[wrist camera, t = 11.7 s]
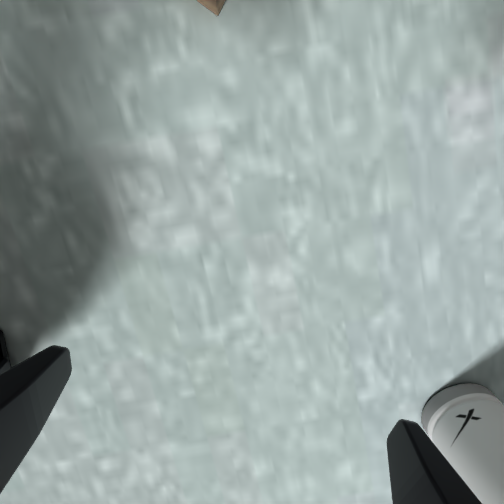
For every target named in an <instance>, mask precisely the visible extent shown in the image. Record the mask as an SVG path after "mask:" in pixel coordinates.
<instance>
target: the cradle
mask: <svg viewBox="0 0 504 504" xmlns="http://www.w3.org/2000/svg"><path fill="white" fill-rule="evenodd" d="M197 1H198V2H200V3H201V4H202V5H204V6H205V7H206V8H208V9H209V10H210V11H212V12H213V13H214V14H216V15H217V16H218V15H219V13H220V11H221V9H222V6H223V4H224V2H225V0H197Z"/></svg>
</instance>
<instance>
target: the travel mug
mask: <svg viewBox="0 0 504 504" xmlns="http://www.w3.org/2000/svg"><path fill="white" fill-rule="evenodd" d="M421 423H422V425H423V428H424V429H425V431H426V433H427V434H428V436H429V437H430V439H431V441H432V442H433V443H434V444H435V446H436V447H437V448H438V449H439V451H440V452H441V453H442V454H443V456H444V457H445V458H446V459H447V461H448V462H449V463H450V464H451V466H452V467H453V468H454V469H455V471H456V472H457V473H458V474H459V475H460V477H461V478H462V479H463V480H464V482H465V483H466V484H467V485H468V487H469V488H470V489H471V490H472V492H473V493H474V494H475V495H476V497H477V498H478V499H479V500H480V502H481V503H482V504H504V405H503V404H502V403H501V402H500V400H499V399H498V398H497V397H496V396H495V395H494V394H493V393H492V392H491V391H490V390H489V389H488V388H486V387H484V386H482V385H478V384H471V383H466V384H459V385H454V386H451V387H448V388H446V389H444V390H442V391H440V392H439V393H437V394H436V395H435V396H433V397H432V398H431V399H430V400H429V401H428V403H427V404H426V405H425V407H424V409H423V411H422V415H421Z"/></svg>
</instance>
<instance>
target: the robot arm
mask: <svg viewBox="0 0 504 504" xmlns="http://www.w3.org/2000/svg"><path fill="white" fill-rule="evenodd" d="M71 371H72V366H71V358H70V351H69V349H68V348H66V347H61V346H56V345H53V346H50V347H48V348H46V349H44V350H42V351H41V352H39V353H37V354H35V355H34V356H32V357H30V358H28V359H26V360H25V361H23V362H21V363H19V364H17V365H16V366H14V367H12V368H11V367H10V362H9V359H8V355H7V350H6V345H5V340H4V335H3V332H2V331H1V330H0V493H1V492H2V490H3V489H4V487H5V486H6V484H7V483H8V481H9V480H10V478H11V477H12V475H13V474H14V472H15V471H16V469H17V468H18V466H19V465H20V463H21V462H22V460H23V459H24V457H25V455H26V454H27V452H28V451H29V449H30V448H31V446H32V445H33V443H34V442H35V440H36V439H37V437H38V435H39V434H40V432H41V430H42V428H43V427H44V425H45V423H46V421H47V419H48V417H49V415H50V413H51V412H52V410H53V408H54V406H55V404H56V402H57V400H58V398H59V396H60V394H61V393H62V391H63V389H64V387H65V385H66V383H67V381H68V379H69V377H70V375H71ZM387 452H388V462H389V472H390V481H391V491H392V500H393V504H482V503H481V502H480V500H479V499H478V498H477V497H476V495H475V494H474V493H473V492H472V490H471V489H470V488H469V487H468V485H467V484H466V483H465V482H464V480H463V479H462V478H461V477H460V475H459V474H458V473H457V472H456V471H455V469H454V468H453V467H452V466H451V464H450V463H449V462H448V461H447V459H446V458H445V457H444V456H443V454H442V453H441V452H440V451H439V449H438V448H437V447H436V446H435V444H434V443H433V442H432V441H431V439H430V438H429V437H428V436H427V434H426V433H425V432H424V431H423V430H422V428H421V427H420V426H419V425H418V424H417V423H416V422H413V421H409V420H404V419H401V420H399V421H398V422H397V423H396V425H395V426H394V428H393V429H392V431H391V432H390V434H389V436H388V438H387Z"/></svg>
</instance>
